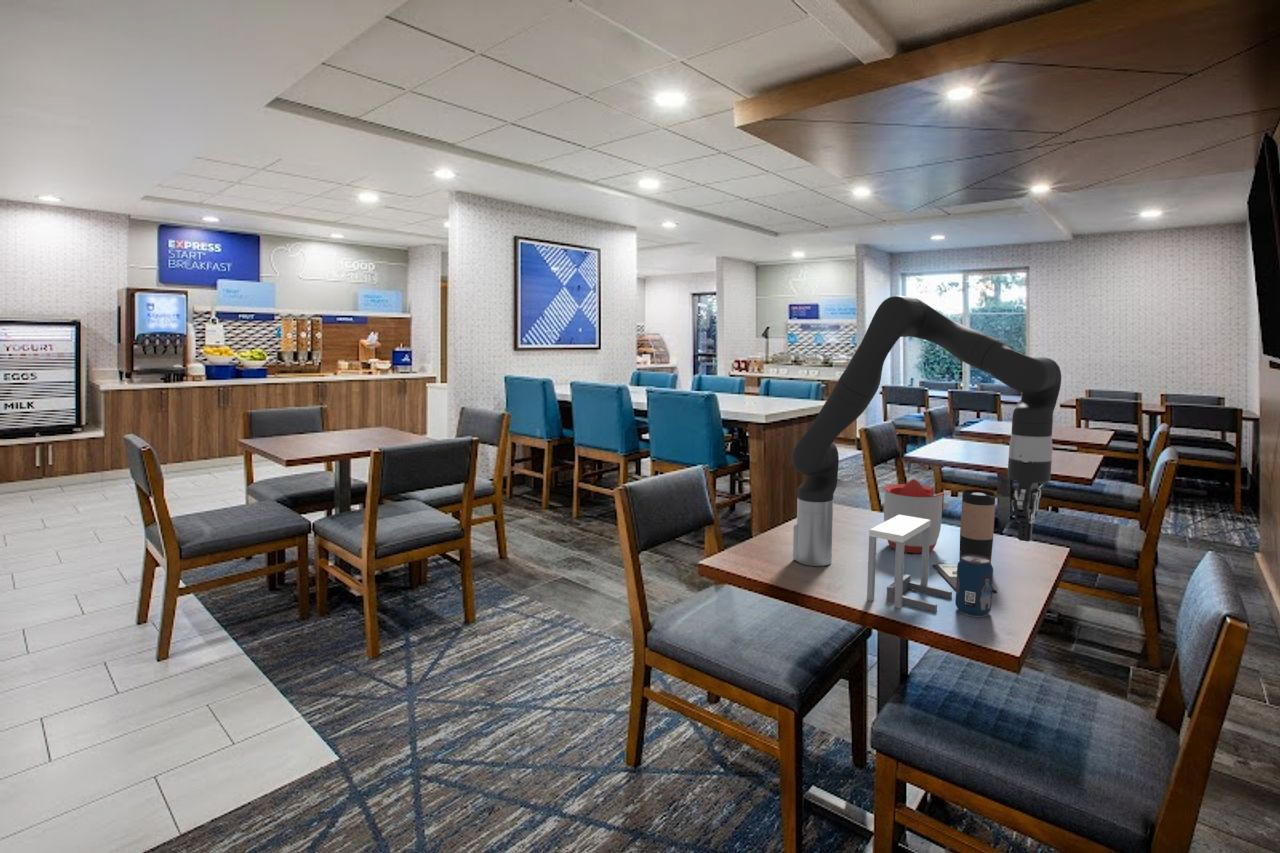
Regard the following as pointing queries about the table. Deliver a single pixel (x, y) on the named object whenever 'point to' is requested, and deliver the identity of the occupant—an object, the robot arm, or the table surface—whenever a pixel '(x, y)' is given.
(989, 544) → the travel mug
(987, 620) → the table surface
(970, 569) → the soda can
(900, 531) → the overhang shelf
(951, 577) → the chocolate bar
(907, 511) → the citrus juicer
